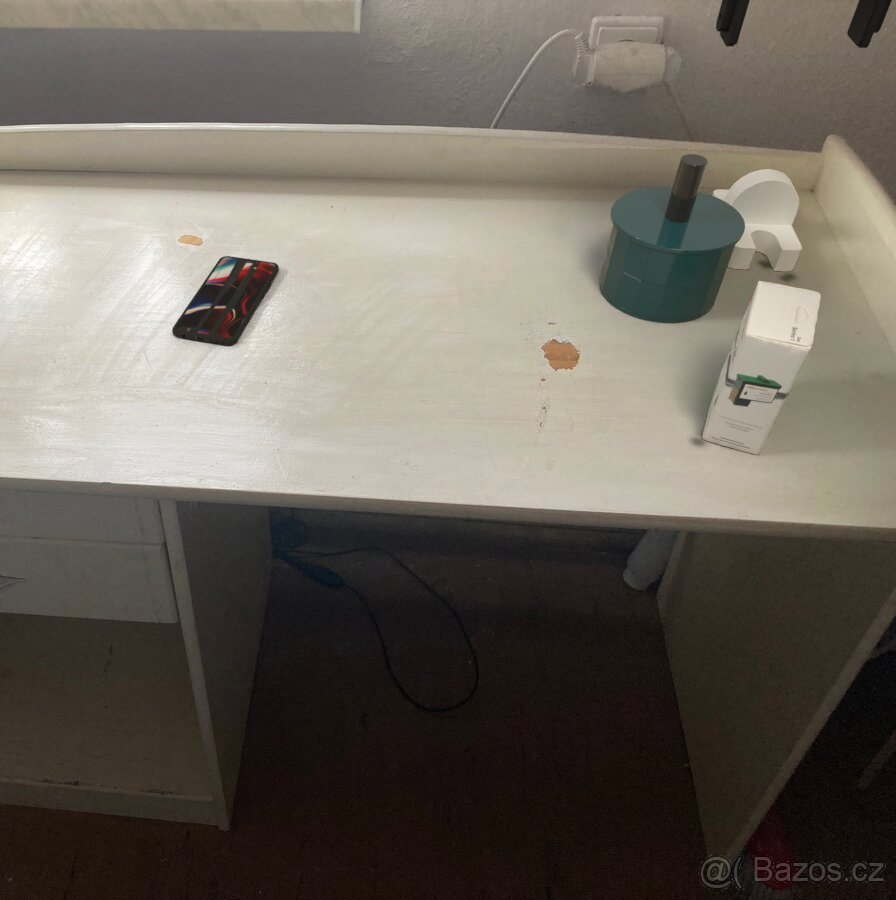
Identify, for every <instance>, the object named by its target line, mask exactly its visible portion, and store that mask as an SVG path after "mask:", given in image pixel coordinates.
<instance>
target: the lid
mask: <svg viewBox="0 0 896 900" xmlns="http://www.w3.org/2000/svg"><path fill="white" fill-rule="evenodd" d="M708 161H709V160H708V159H707V158H706V157H705V156H704V155H703V156H702V155H701V154H695V153H693V154H692V153H688V154H683V155H682V156H681V157H680V160H679V164H678V167H677V171H676V174H675V178H674V181H673V184H672V186H648V187H643V188H642V187H641V188H637V189H633V190H631V191H629V192H626V193H624V194H622V195H621V196H619V197H618V198H617V199H616V200H615V201H614V202H613V203H612V206H611V208H610V220H611V223H612V226H613V225H614V226H615V228H616V229H617V230H618V231H619V232H620V233H621V234H623V235H624V236H625V237H627V238H628V239H630V240H632V241H634V242H636V243H638V244H640V245H643V246H645V247H648V248H651V249H654V250H658V251H662V252H667V253H674V254H684V255H701V254H710V253H715V252H720V251H723V250H726V249H728V248H730V247H732V246H734V245H735V244H736V243H738V242H739V240H740V239H741V238H742V236H743V234H744V230H745V222H744V219H743V217H742V216H741V214H740V213H739V212H738V211H737V210H736V209H735V208H734V207H733V206H731V205H730V204H728V203H727V202H725V201H723V200H721V199H719V198H717V197H715V196H712V195H713V194H709V193H706V192H704V191H700V188H701V184H702V181H703V178H704V175H705V172H706V169H707V166H708Z"/></svg>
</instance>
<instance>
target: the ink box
mask: <svg viewBox="0 0 896 900" xmlns="http://www.w3.org/2000/svg"><path fill="white" fill-rule="evenodd" d="M821 299H822V294H821V293H820V292H818V291H816V290H812V289H807V288H800V287H795V286H790V285H784V284H780V283H776V282H771V281H764V280H758V281H757V284H756V287H755V290H754V291H753V294H752V297H751V299H750V300H749V301H750V302H749V304H748V306H747V309H746V311H745V313H744V315H743V318H742V321H741V323H740V325H739V328H738V330H737V331H736V335H735V337H734V340H733V342H732V345H731V347H730V349H729V352H728V354H727V356H726V359H725V361H724V364H723V365H722V369H721V371H720V373H719V376H718V378H717V380H716V383H715V385H714V390H713V392H712V397H711V401H710V403H709V404H710V405H709V409H708V413H707V415H706V420H705V422H704V423H705V424H704V427H703V432H702V436H701V438H702V440H703V441H706V442H710V443H713V444H716V445H720V446H723V447H727V448H730V449H733V450H737V451H741V452H744V453H748V454H752V455H759V454H760V453H761V451H762V449H763V447H764V445H765V443H766V442H767V439H768V437H769V435H770V433H771V431H772V430H773V427H774V426H775V425H774V424H775V423H776V421H777V419H778V416H779V415H780V412H781V411H782V408H783V406H784V405H785V403H786V400H787V398H788V396H789V393H790V392H791V389H792V388H793V386H794V383H795V382H796V378H797V377H798V375H799V374H800V371H801V369H802V367H803V366H804V363H805V361H806V359H807V357H808V355H809V353H810V352H811V350H812V347H813V344H814V337H815V335H816V325H817V322H818V314H819V309H820V305H821Z"/></svg>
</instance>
